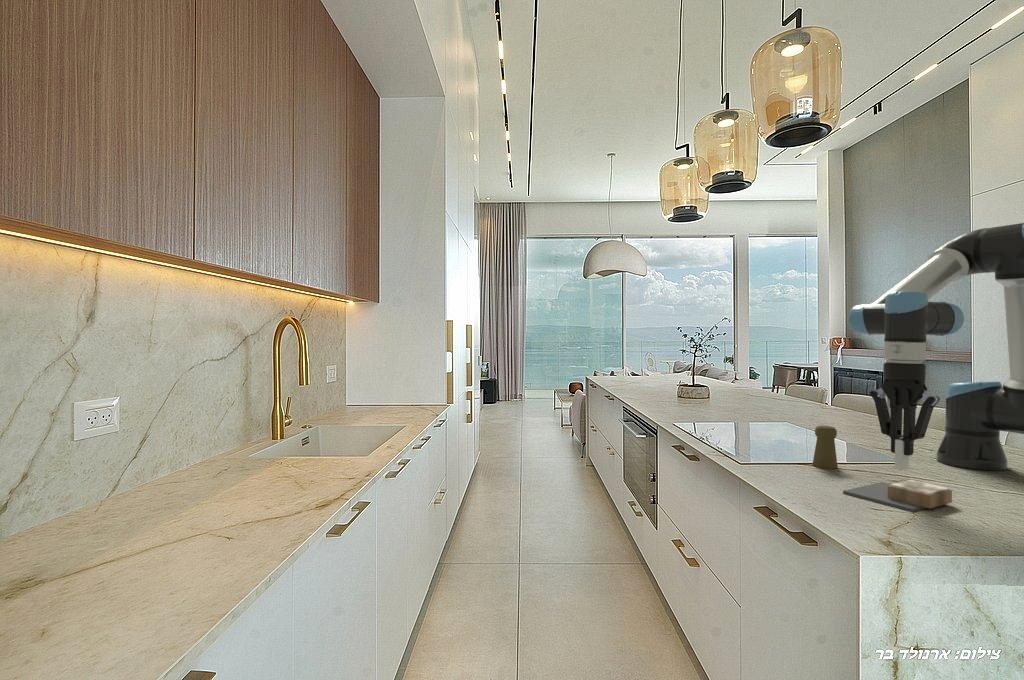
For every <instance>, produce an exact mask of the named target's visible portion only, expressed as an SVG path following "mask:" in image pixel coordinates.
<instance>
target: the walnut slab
mask: <svg viewBox="0 0 1024 680" xmlns="http://www.w3.org/2000/svg"><path fill="white" fill-rule="evenodd" d="M890 484H891V485H890V486H888V498H890V499H894V500H898V501H902V502H906V503H910V504H914V505H918V506H922V507H925V508H924V509H934V508H938V507H940V506H945V505H947V504H951V503H952V502H953V490H952V489H950V487H946V486H942V485H937V484H933V483H928V482H924V481H919V480H915V479H908V480H903V481H900V482H895V483H890Z"/></svg>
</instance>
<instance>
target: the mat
mask: <svg viewBox="0 0 1024 680" xmlns="http://www.w3.org/2000/svg"><path fill="white" fill-rule="evenodd" d="M891 484H892V483H888V482H885V481H881V482H875V483H872V484H867V485H863V486H858V487H854V488H847V489H846V490H845V489H844V490H843V491H842V494H845V495H849V496H853V497H856V498H858V499H859V498H860V499H863V500H867V501H871V502H875V503H878V504H883V505H887V506H889V505H890V507H893V508H897V509H901V510H904V509H905V511H908V510H909V512H912V511H914V512H917V511H920V509H921V510H924V509H926V508H925V507H922V506H918V505H914V504H910V503H906V502H902V501H898V500H894V499H890V498H888V486H890V485H891Z"/></svg>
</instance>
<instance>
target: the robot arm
mask: <svg viewBox="0 0 1024 680" xmlns="http://www.w3.org/2000/svg"><path fill="white" fill-rule="evenodd" d="M985 273H986V274H987V273H988V274H989V273H991V274H992V273H994V280H995V282H998V283H999V284H1001V285H1002V286H1003V292H1004V293H1003V295H1004V307H1005V319H1006V320H1005V323H1006V336H1007V337H1006V338H1007V350H1008V351H1007V352H1008V353H1007V354H1008V364H1009V366H1008V367H1009V378H1007V379H1006V380H1005V381H1003V383H1001V381H973V382H972V381H971V382H970V381H969V382H954V383H953V382H952V383H950V384H949V385H948V386H947V388H946V395H945V398H944V399H945V416H944V418H945V423H944V425H945V426H944V427H945V429H944V431H945V432H944V435H943V438H942V439H941V442H940V444H939V447H938V449H937V452H936V461H937V462H940V463H942V464H945V465H949V466H954V467H958V468H963V469H969V470H970V469H972V470H978V471H979V470H980V471H981V470H982V471H1005V470H1008V459H1007V456H1006V453H1005V450H1004V447H1003V445H1002V443H1001V440H1000V437H1001V436H1000V435H1001V434H1000V433H1001V431H1002V432H1007V433H1015V434H1021V435H1024V222H1021V223H1014V224H1009V225H1008V224H1007V225H999V226H993V227H985V228H979V229H975V230H971V231H968V232H966V233H964V234H961V235H959V236H958V237H955V238H953V239H952V240H950V241H947V242H946V243H945V244H943V245H941V246H940V247H938V248H937V249H935V250H934V251H933V252H932V253H931V254H930V255H928V258H927V261H926V262H925V263H924V264H922V265H921V266H920V267H918V268H917V269H916V270H914V271H913V272H912V273H910V274H909V275H908V276H907V277H905V278H904V279H902V280H901V281H899V283H897V284H896V285H894V286H893V287H892V288H891V289H889V290H888V291H886V292H885V293H884V294H883V295H881V296H880V297H879V298H877V299H876V300H874V301H873V302H872V303H868V304H867V303H863V304H858V305H855V306H853V307H852V308H851V309H850V311H849V313H848V318H847V319H848V321H847V322H848V324H849V327H850V329H851V330H852V331H853V332H854V333H855V334H857V335H868V336H872V335H884V340H883V341H884V342H883V359H884V360H886V361H885V362H884V363H883V370H882V371H883V372H882V375H883V376H882V377H883V382H882V383H881V385H880V388H878V389H875V390H871V391H870V392H869V394H870V396H871V398H872V400H873V401H874V404H875V409H876V415H877V417H878V422H879V428H880V431H881V433H882V435H886V436H888V437H889V438H890V452H891V453H893V454H894V470H898V471H906V470H909V468H910V467H909V466H910V465H909V464H910V461H909V459H910V456H913V454H914V448H915V447H914V446H915V445H914V443H915V442H914V441H916V440H921V439H924V438H925V436H926V434H927V430H928V427H929V423H930V420H931V417H932V414H933V410H934V408H935V406H936V405H937V404H938V403H939V402H940V400H941V399H940V397H939V396H938V395H933V394H932V393H931V392H929V391H928V388H927V386H926V370H927V369H926V367H927V365H926V364H925V363H923V362H925V361H927V336H937V337H938V336H940V337H944V336H947V335H948V336H950V335H952V334H954V333H957V332H958V331H959V330H960V329H961V328H962V327H963V325H964V322H965V321H964V320H965V314H964V313H963V311H962V309H961V308H960V307H959V306H958V305H956V304H954V303H951V302H946V301H929V300H930V299H931V298H932V297H934V296H935V295H936V294H938V293H940V292H941V291H942V290H943V289H945V287H946V286H948V285H949V284H951V283H952V282H953V283H954V282H958V281H961V280H962V279H963V278H965V277H966V276H970V275H976V274H985ZM886 397H887V399H888V400H889V408H890V412H889V408H888V403H887V400H886ZM921 399H922V402H923V403H922V404H921V407H920V410H919V413H918V416H917V419H916V410H917V408H918V402H919V401H920V400H921Z"/></svg>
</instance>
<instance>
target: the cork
mask: <svg viewBox="0 0 1024 680" xmlns="http://www.w3.org/2000/svg"><path fill="white" fill-rule="evenodd" d="M814 435H815V436H816V442H815V447H814V454H813V459H812V464H811V465H812V466H813V467H816V468H818V469H824V470H825V469H826V470H837V469H838V468H839V467H838V459H837V458H838V457H837V451H836V450H837V449H836V443H835V442H836V441H835V439H836V438H837V435H838V431H837V428H835V427H834V426H831V425H826V424H825V425H823V424H822V425H821V424H820V425H818V426H816V427H815V428H814Z"/></svg>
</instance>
